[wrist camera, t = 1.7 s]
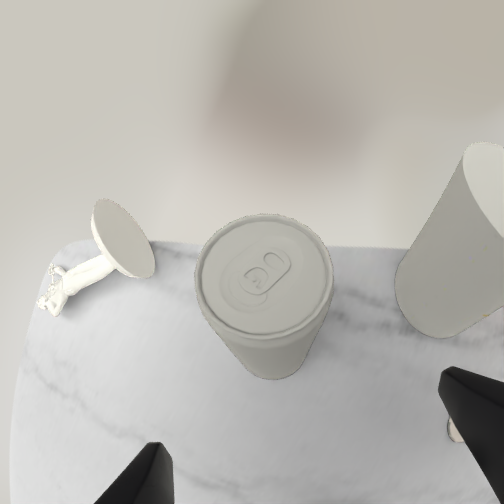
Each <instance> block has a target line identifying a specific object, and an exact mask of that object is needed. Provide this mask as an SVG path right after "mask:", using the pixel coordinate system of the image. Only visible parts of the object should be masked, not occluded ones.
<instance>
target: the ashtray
mask: <svg viewBox="0 0 504 504" xmlns="http://www.w3.org/2000/svg"><path fill="white" fill-rule="evenodd" d="M448 434H449V437H450V438H451V439H452V440H453V441H454V442H458V443H460V442H464V440H463V438H462V437H461V435H460V434H459V432H458V430H457V429H456V427H455V425H454V423H453V421H452V419H451V417H450V419H449V422H448Z"/></svg>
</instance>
